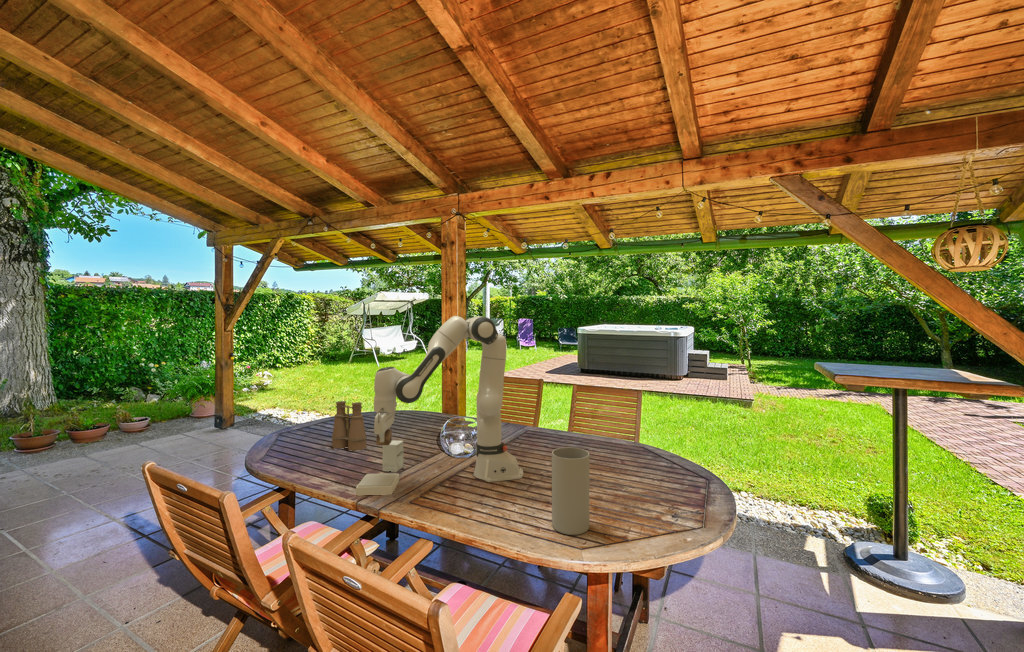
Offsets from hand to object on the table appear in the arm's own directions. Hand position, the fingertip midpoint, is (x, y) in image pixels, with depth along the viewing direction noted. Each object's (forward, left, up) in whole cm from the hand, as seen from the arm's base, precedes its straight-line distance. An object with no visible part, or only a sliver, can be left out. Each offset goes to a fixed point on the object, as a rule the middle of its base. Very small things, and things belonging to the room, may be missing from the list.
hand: (384, 439), depth 174 cm
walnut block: (0, 0, -2) cm, 2 cm away
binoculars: (+32, -57, -21) cm, 69 cm away
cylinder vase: (-71, +37, -21) cm, 82 cm away
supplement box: (+1, -23, -21) cm, 31 cm away
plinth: (+2, 0, -20) cm, 20 cm away
